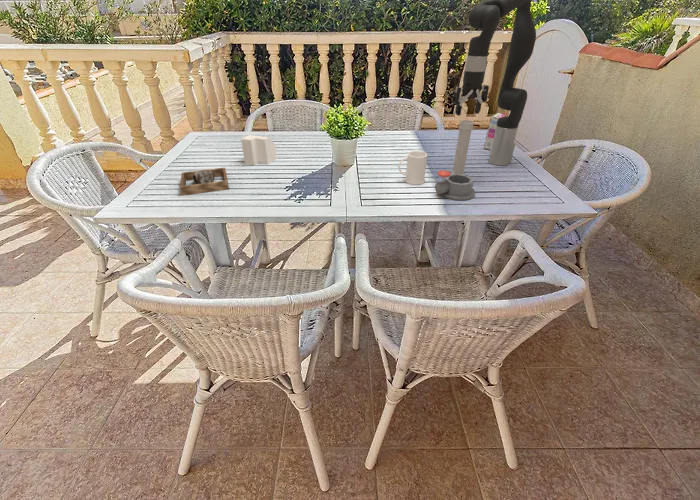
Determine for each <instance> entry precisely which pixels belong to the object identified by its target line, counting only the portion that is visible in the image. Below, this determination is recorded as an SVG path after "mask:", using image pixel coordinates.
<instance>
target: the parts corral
mask: <svg viewBox="0 0 700 500" xmlns="http://www.w3.org/2000/svg"><path fill="white" fill-rule="evenodd" d="M208 170H211V173H212V174H214V178H219V177H223V178H224V180H220V181H213V182H211V183H203V184H197V183H196V184H191V185H189V184H188V185H187V181H194V179H193V175H195V173H194V172H202V171H208ZM180 173H181V175H180V185H179V186H180V192H181V194H182V196H188V195H189V196H190V195H196V194H204V193H210V192H211V193H212V192H217V191H226V190H230V187H229V182H228V181H229V180H228V175H227V170H226V167H219V168H208V169H202V170H192V171H184V172H180Z"/></svg>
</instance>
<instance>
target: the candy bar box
mask: <svg viewBox="0 0 700 500" xmlns="http://www.w3.org/2000/svg"><path fill="white" fill-rule="evenodd" d="M502 117H507V114H505V113H501V112H500V113H499V112H497V113H495V114H494V115H492V116H490V119H489V123H488V128H487V131H486V132H487V133H486V137H485V142H484V147H483V149H484V150H489V151H491V148H492V143H493V139H494V134H495V129H496V125H497V121H498V119H499V118H502Z"/></svg>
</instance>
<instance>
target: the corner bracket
mask: <svg viewBox="0 0 700 500" xmlns="http://www.w3.org/2000/svg"><path fill="white" fill-rule="evenodd" d="M240 142H241V148H242V154H243V160H244V165H249V166H250V165H251V166H256V165H258V164H263V165H270V164H271V163H273V162H275V161H276V160H278V157H277V148H276V143H274V141H272V139H271V138H270V137H269V136H268V137H267V136H260V135H254V134H253V135H252V134H249V135H246V136H244V137H242V138H241V139H240Z"/></svg>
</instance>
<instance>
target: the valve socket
mask: <svg viewBox="0 0 700 500" xmlns="http://www.w3.org/2000/svg"><path fill="white" fill-rule="evenodd" d="M437 176H439V177H440V178H441V181H439V182H436V183H435V185H434V189H435V192H436V194H438V195H440V196H442V197H443V198H445V199H447V200H452V201H457V202H458V201H459V202H460V201H461V202H463V201H465V202H466V201H469V200H472V199H473V198H475V195H476V190H475V189H474V188H473V185H474V178H472V177H470V176H469V175H467V174H464V175H462V174H451V171H449V170H442V169H441V170H440V169H439V170H438V171H437Z"/></svg>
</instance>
